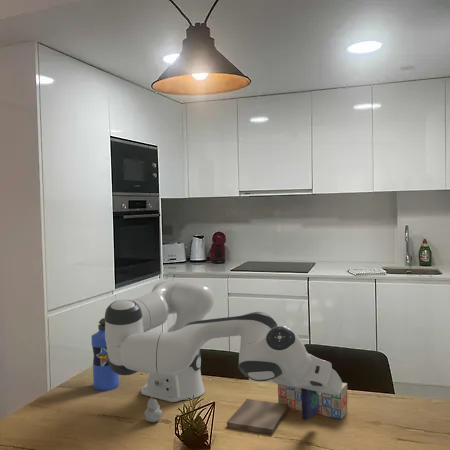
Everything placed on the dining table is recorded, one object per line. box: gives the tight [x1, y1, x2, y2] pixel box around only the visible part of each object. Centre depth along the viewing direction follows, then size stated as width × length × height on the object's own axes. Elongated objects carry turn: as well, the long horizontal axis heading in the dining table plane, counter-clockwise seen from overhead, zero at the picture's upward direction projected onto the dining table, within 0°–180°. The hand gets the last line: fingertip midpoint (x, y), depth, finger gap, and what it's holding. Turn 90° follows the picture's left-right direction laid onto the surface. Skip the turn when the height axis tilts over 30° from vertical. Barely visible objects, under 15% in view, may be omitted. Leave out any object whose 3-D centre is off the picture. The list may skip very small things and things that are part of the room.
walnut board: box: [226, 398, 290, 435], centre depth 149 cm, size 14×18×2 cm
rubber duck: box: [143, 397, 163, 423], centre depth 149 cm, size 5×7×8 cm
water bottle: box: [91, 317, 120, 392], centre depth 178 cm, size 9×9×25 cm
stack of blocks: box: [277, 382, 349, 420], centre depth 155 cm, size 21×6×12 cm, turn 57°
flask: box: [301, 388, 319, 421], centre depth 140 cm, size 9×3×11 cm, turn 147°
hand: (312, 391), depth 140 cm, fingers closed on flask, 3 cm apart
